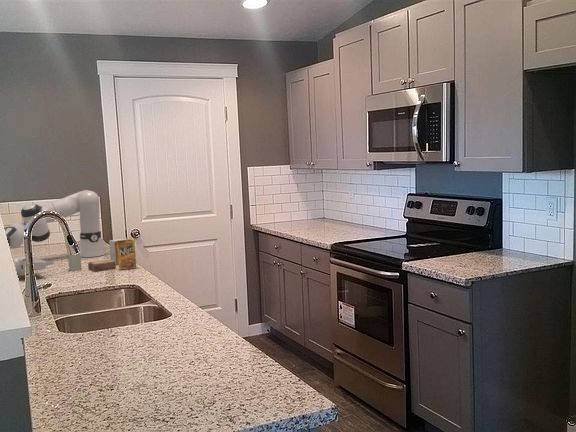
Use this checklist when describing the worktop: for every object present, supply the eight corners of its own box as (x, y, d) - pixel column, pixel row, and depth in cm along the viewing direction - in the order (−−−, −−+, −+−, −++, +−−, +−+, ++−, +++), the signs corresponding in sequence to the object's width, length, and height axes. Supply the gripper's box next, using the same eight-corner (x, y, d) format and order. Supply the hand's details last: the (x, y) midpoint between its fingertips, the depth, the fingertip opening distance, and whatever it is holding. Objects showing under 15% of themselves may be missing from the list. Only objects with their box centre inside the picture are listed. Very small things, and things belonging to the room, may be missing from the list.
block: (69, 270, 310) (67, 247, 309) (78, 268, 313) (77, 246, 312) (71, 271, 306) (69, 248, 305) (81, 269, 310) (79, 246, 308)
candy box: (119, 270, 304) (116, 240, 302) (118, 268, 308) (116, 239, 306) (136, 268, 307) (134, 239, 305) (136, 266, 311) (134, 238, 309)
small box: (116, 265, 318) (114, 241, 317) (110, 263, 323) (108, 240, 321) (129, 262, 324) (128, 239, 322) (124, 261, 328) (122, 238, 327)
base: (88, 269, 310) (87, 261, 309) (108, 266, 316) (108, 258, 316) (95, 271, 302) (94, 264, 302) (115, 268, 309) (115, 260, 308)
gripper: (17, 268, 302) (45, 264, 311) (27, 274, 286) (56, 269, 294) (16, 256, 302) (44, 252, 310) (26, 261, 285) (55, 257, 294)
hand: (50, 261), depth 302 cm, fingers open, 8 cm apart
